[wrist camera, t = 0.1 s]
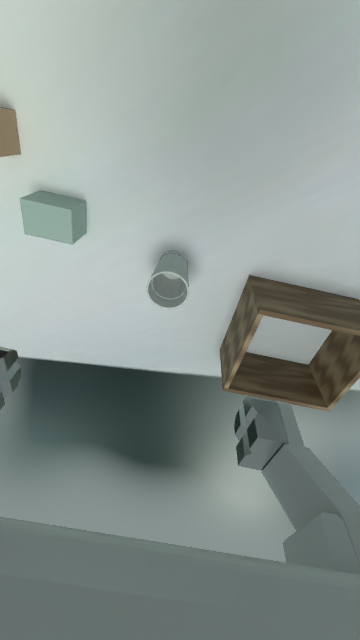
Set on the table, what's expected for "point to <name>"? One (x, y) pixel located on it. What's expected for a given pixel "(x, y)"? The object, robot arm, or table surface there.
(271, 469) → the robot arm
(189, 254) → the table surface
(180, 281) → the cup
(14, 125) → the peach smooth rectangular block
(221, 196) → the table surface
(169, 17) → the table surface
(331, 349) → the walnut planter box
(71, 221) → the pale green upright block
